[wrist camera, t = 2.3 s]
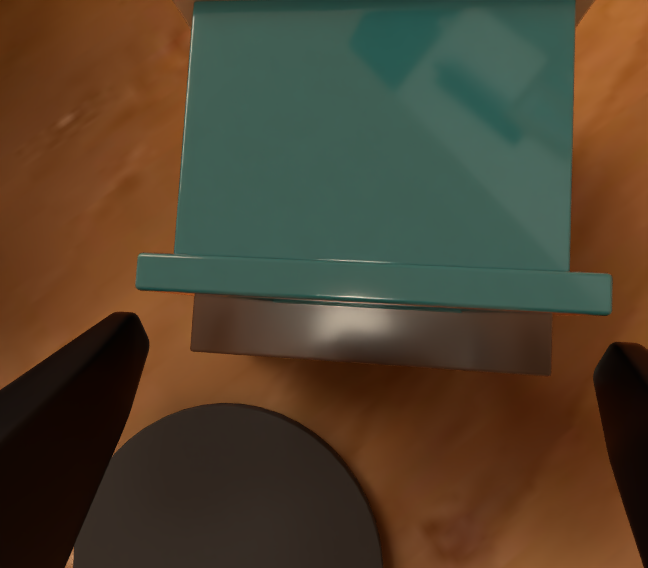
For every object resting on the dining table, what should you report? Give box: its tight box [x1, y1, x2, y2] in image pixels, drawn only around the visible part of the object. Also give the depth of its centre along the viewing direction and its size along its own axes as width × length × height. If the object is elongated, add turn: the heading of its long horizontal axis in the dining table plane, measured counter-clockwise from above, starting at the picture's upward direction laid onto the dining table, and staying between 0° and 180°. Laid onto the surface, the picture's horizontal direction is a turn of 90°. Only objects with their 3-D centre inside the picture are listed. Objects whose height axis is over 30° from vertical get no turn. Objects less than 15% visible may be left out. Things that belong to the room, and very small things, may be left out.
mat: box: [73, 403, 383, 568], centre depth 18 cm, size 13×13×1 cm
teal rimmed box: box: [135, 0, 613, 316], centre depth 10 cm, size 8×7×7 cm
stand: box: [190, 296, 553, 376], centre depth 16 cm, size 11×11×5 cm
